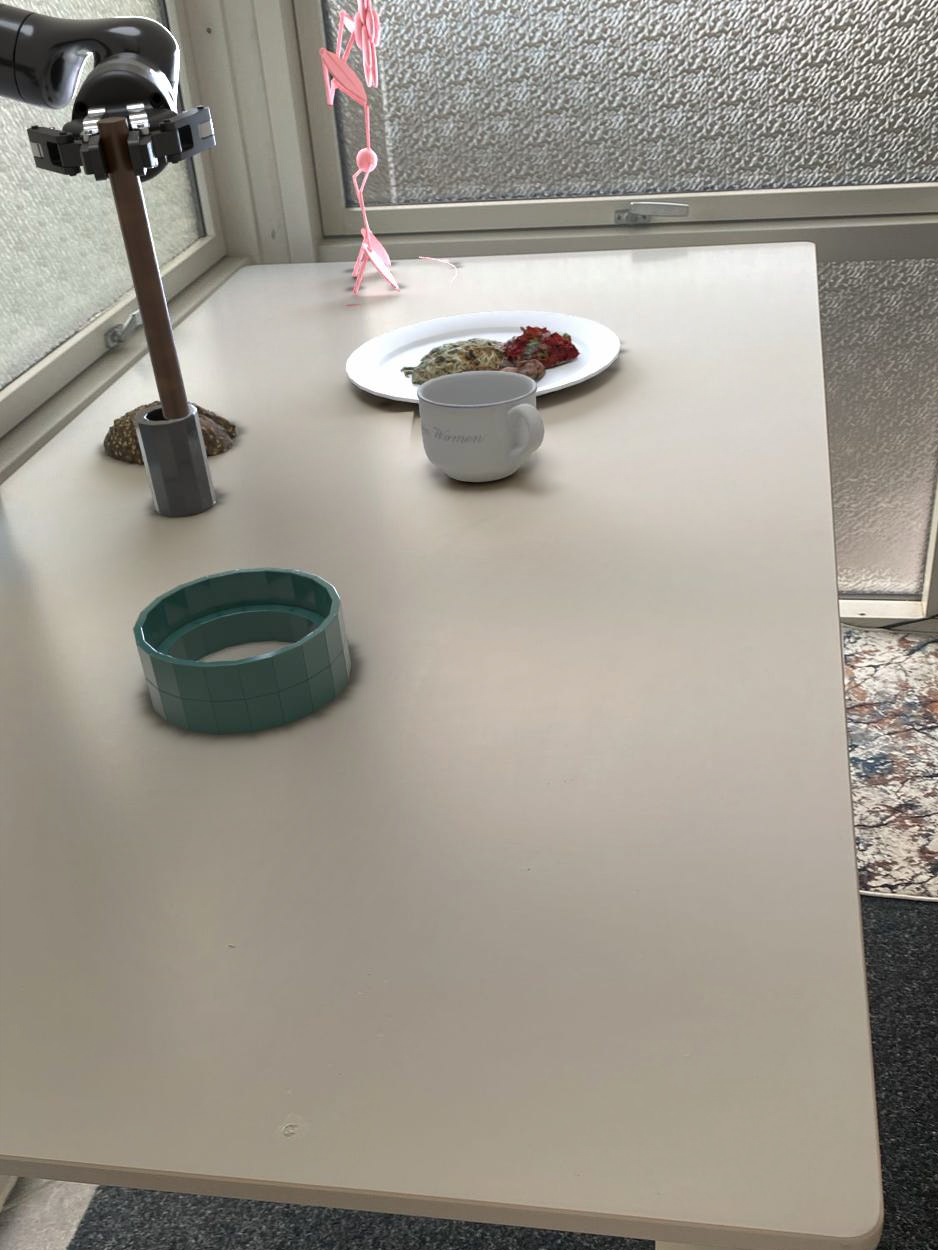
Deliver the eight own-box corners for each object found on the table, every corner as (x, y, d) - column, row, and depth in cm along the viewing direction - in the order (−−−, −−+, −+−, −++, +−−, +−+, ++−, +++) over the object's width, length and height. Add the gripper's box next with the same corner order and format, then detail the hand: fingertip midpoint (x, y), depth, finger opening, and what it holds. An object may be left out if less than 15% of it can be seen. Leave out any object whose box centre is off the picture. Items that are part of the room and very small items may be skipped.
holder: (152, 525, 120) (128, 427, 115) (164, 500, 125) (141, 405, 119) (211, 520, 120) (189, 422, 114) (221, 496, 124) (200, 400, 119)
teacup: (407, 466, 126) (396, 382, 121) (507, 439, 130) (501, 355, 125) (473, 515, 116) (465, 425, 111) (580, 484, 120) (577, 395, 115)
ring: (134, 749, 90) (112, 672, 87) (174, 646, 102) (156, 574, 98) (342, 736, 90) (328, 658, 86) (359, 634, 101) (348, 561, 97)
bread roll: (91, 455, 136) (78, 406, 133) (190, 417, 142) (180, 370, 139) (162, 482, 128) (150, 432, 125) (264, 442, 135) (254, 392, 131)
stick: (161, 420, 101) (93, 123, 88) (166, 411, 102) (99, 118, 90) (187, 418, 100) (122, 120, 88) (192, 409, 102) (129, 115, 90)
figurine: (347, 314, 168) (301, -15, 146) (347, 262, 188) (307, -34, 167) (468, 301, 168) (440, -30, 147) (454, 250, 188) (428, -47, 167)
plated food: (294, 381, 149) (289, 350, 147) (493, 312, 163) (491, 283, 161) (471, 441, 130) (468, 407, 128) (677, 357, 145) (678, 325, 143)
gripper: (227, 162, 104) (231, 209, 91) (49, 184, 103) (27, 235, 90) (207, 51, 100) (209, 84, 86) (21, 73, 99) (-7, 109, 85)
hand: (116, 161), depth 88 cm, fingers closed on stick, 2 cm apart
